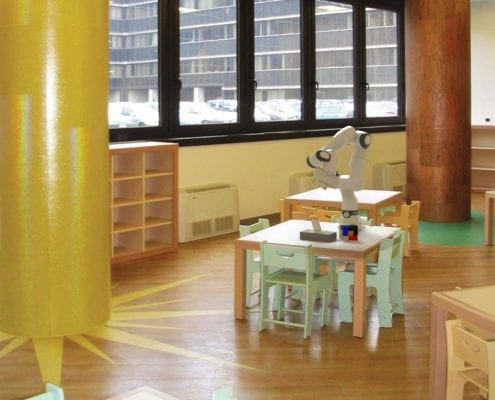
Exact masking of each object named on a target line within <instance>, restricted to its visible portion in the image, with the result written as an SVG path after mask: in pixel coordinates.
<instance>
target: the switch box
mask: <svg viewBox="0 0 495 400" xmlns="http://www.w3.org/2000/svg"><path fill="white" fill-rule="evenodd" d="M321 230H322V229H321ZM337 234H338V233H337V231H331V230H325V229H324V230H322V231H321V232H317V231H314V229H310V228H308V229H307V228H306V229H304V230H301V231H299V240H305V239H306V240H307V241H317V242H324V241H326V243H330V242H333V241H335V240H337V237H338V236H337Z"/></svg>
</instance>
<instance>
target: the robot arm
mask: <svg viewBox="0 0 495 400" xmlns="http://www.w3.org/2000/svg"><path fill="white" fill-rule="evenodd" d="M372 138H373V137H372V136H371V134H370V132H369V133H368V132H366V131H362V130H356V129H355V127H354V126H351V125H348V126H345V127H344V128H341V129H340V130H339V131H337V133H335V134H334V135H333V136H332V137H331V139H330V140H329V141H328V142H327V143H326V144H325V145H324V146H323V147H322V148H320V149H316V150H315V151H314V152H313V153H311V154H309V155H307V157H306V164H307V166H308V167H309V168H311V169H315V170H314V173H313V175H312V177H313V179H314V180H316V181H318V182H320V183H321V190H324V191H327V190H328V188H331V189H333V190H336V189H337V190H339V192H340V194H341V201H342V202H341V203H342V206H341V207H342V208H341V215H340V216H339V221H338V222H339V223H338V224H355V225H357V226H358V231H359V230H360V231H362V230H364V228H366V225H363V219H362V218H361V216H360V214H359V213H360V209H358V198H357V196H356V195H355V192H362V191H363V190H364V188H365V185H366V183H365V182H366V181H365V180H364V176H363V175H364V168H365V165H366V162H367V160H368V154H369V150H370V149H369V147H370V145H371V144H372ZM347 145H349V146H354V149H353V151H352V154H351V157H350V160H349V163H348V169H349V171H350V172H349V173H350V174H348V175H347V174H342V175H340V174H339V173H338V172H337V170H336V166H337V164H338V156H339V154H338V152H337V151H338V150H340V149H343V148H344V147H346V146H347ZM321 165H322V167H320V166H321ZM337 228H338V229H339V225H337Z"/></svg>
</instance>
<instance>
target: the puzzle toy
mask: <svg viewBox="0 0 495 400" xmlns="http://www.w3.org/2000/svg"><path fill="white" fill-rule="evenodd" d="M338 224H339V223H338ZM338 226H339V228H338V229H339V230H338V235H339V237H338V239H340V240H341V241H343V242H350V241H351V242H352V241H353V242H355V241H359V230H358V226H357V225H355V224H339V225H338Z"/></svg>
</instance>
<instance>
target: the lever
mask: <svg viewBox="0 0 495 400" xmlns="http://www.w3.org/2000/svg"><path fill="white" fill-rule="evenodd" d="M309 214H310V213H309ZM319 218H320V216H319V215H318V214H310V215H309V216H308V219H309V220H310V222H311V225H312V230H314V231H317V232H321V231H322V227H321V223H320V220H319Z"/></svg>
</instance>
